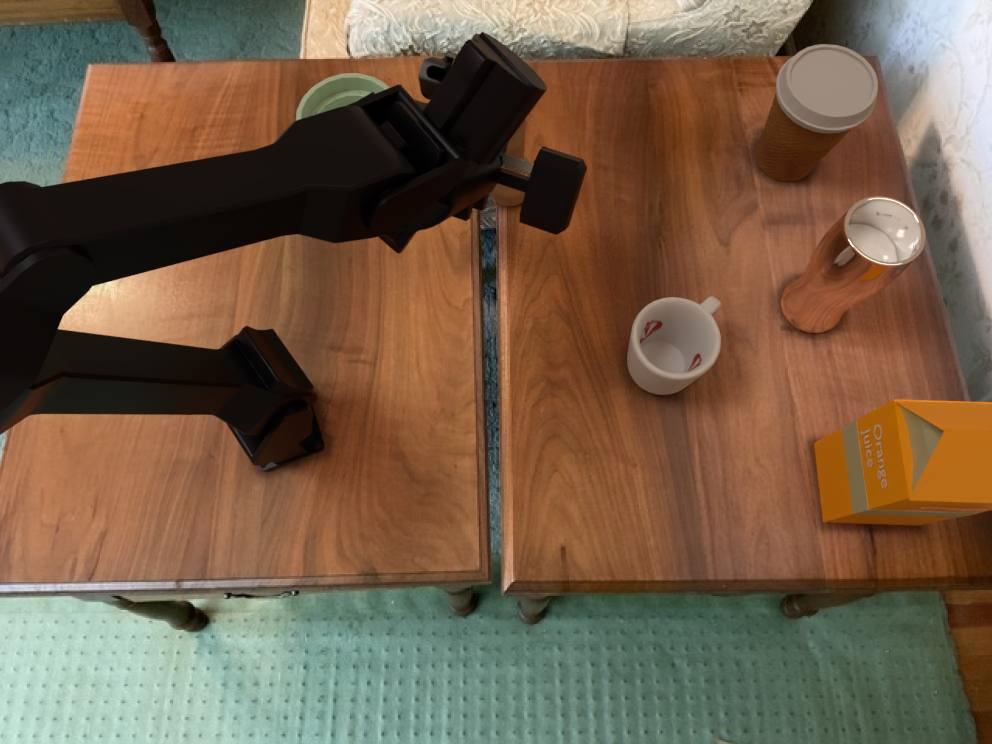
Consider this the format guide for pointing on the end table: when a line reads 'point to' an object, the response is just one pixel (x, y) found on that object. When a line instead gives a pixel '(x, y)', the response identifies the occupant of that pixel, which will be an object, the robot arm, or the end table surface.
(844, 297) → the beer glass
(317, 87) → the bowl
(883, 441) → the orange juice
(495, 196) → the rod
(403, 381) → the end table surface
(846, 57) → the disposable coffee cup
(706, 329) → the cup
